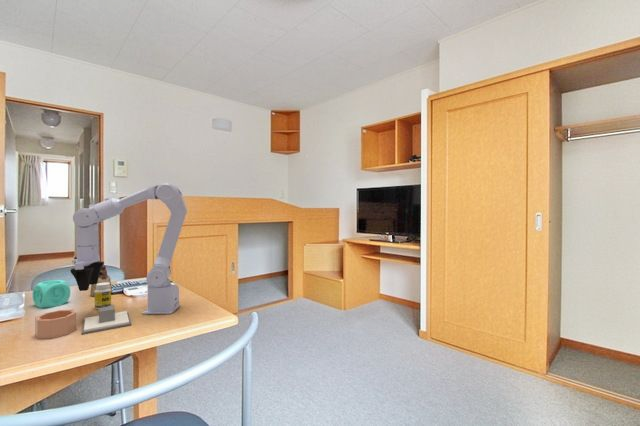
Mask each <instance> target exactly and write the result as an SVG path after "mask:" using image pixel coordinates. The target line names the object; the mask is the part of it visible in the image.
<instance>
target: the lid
mask: <svg viewBox="0 0 640 426" xmlns="http://www.w3.org/2000/svg"><path fill="white" fill-rule="evenodd" d="M84 319H85V324H84V332H86V331H92V330H97V329H102V328H108V327H113V326H119V325H124V324H129V319H128V315H127V310H125V311H120V312H116V309H115V305H111V306H108V307H101V308H99V309H98V315H95V316H89V317H88V316H87V317H84Z"/></svg>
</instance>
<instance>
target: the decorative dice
mask: <svg viewBox="0 0 640 426" xmlns="http://www.w3.org/2000/svg"><path fill="white" fill-rule="evenodd" d="M70 296H71V287H70V285H69V283H68V282H67V281H66V280H64V279H53V280H52V279H51V280H45V281H41V282H38V283H37V284H36V285H35V286H34V287H33V289H32V301H33V303H34V305H35V306H36V307H37V308H40V309H46V308H54V307H59V306H62V305H64V304H66V303H67V302H68V301H69V299H70Z"/></svg>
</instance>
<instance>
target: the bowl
mask: <svg viewBox="0 0 640 426" xmlns="http://www.w3.org/2000/svg"><path fill="white" fill-rule="evenodd" d="M34 320H35V325H34V326H35V337H36V338H37V340H38V339H39V340H41V339H42V340H43V339H44V340H45V339H51V340H52V339H55V338H60V337H62V336H66V335H69V334H71V333H74V331H76V330H77V312H76V311H75V310H74V309H59V310H53V311H48V312H45V313H43V314H40V315H38V316H35V319H34Z"/></svg>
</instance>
